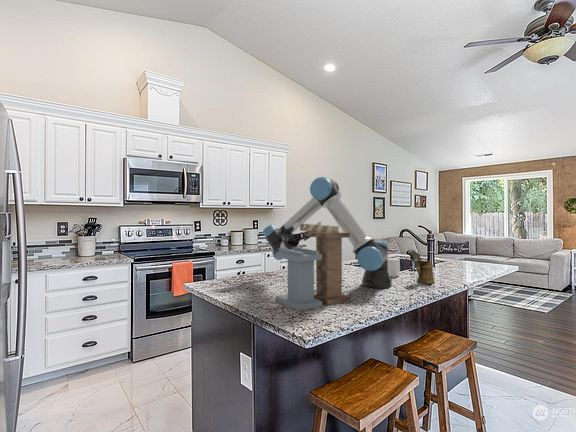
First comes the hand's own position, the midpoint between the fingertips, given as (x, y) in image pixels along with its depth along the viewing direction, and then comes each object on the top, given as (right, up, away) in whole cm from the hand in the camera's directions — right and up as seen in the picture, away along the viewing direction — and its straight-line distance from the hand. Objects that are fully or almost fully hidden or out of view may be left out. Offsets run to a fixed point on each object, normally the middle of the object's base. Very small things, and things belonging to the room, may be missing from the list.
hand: (309, 224), depth 162 cm
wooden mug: (+63, -33, +22) cm, 75 cm away
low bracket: (-6, -33, -19) cm, 39 cm away
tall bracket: (+7, -33, -11) cm, 36 cm away
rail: (+4, -3, -6) cm, 8 cm away
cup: (+51, -32, +41) cm, 73 cm away
